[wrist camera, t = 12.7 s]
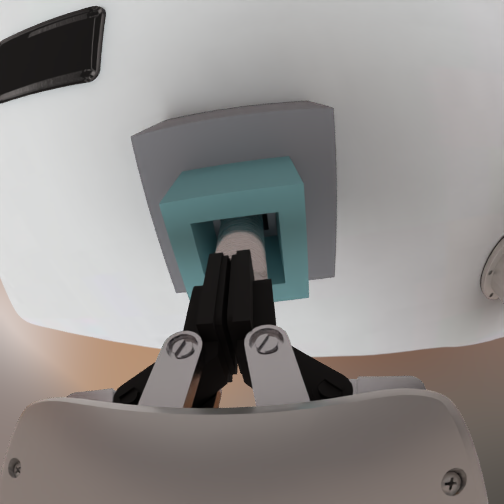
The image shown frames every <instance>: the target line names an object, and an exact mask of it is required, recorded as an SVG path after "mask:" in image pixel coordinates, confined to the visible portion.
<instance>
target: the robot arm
mask: <svg viewBox="0 0 504 504" xmlns="http://www.w3.org/2000/svg"><path fill="white" fill-rule="evenodd" d="M481 289H482V292H483V293H484V294H485V296H486V297H487V298H488V299H492V300H494V299H499V298H500V300H501V301H502V302H503V304H504V238H503V239H502V240H501V241H500V242H499V243H498V245H497V246H496V247H495V249H494V250H493V252H492V254H491V255H490V257H489V259H488V261H487V263H486V265H485V268H484V270H483V274H482V278H481ZM237 364H238V365H237ZM237 366H239V369H240V373H241V374H242V376H243V379H244V382H245V383H246V384H247V385H248V386H250V387H251V388H252V389H253V392H254V397H255V401H256V407H239V408H219V403H220V399H221V394H222V390H221V388H223V387H224V386H225V385H226V384H227V383H228V382H232V375H233V374H237ZM0 504H488V498H487V493H486V489H485V483H484V479H483V475H482V471H481V467H480V463H479V459H478V456H477V453H476V450H475V447H474V444H473V441H472V438H471V435H470V433H469V431H468V428H467V426H466V423H465V421H464V419H463V417H462V415H461V414H460V412H459V410H458V408H457V407H456V406H455V405H454V403H453V402H452V401H451V400H450V399H449V398H448V397H446V396H445V395H443V394H440V393H437V392H433V391H430V390H426V389H425V386H424V384H423V383H422V381H421V380H419V379H418V378H416V377H413V376H391V377H358V379H348V378H346V377H345V376H344V375H342V374H340V373H339V372H337V371H335V370H333V369H331V368H330V367H328V366H326V365H324V364H322V363H321V362H319V361H317V360H315V359H313V358H312V357H310V356H308V355H306V354H305V353H303V352H301V351H299V350H298V349H296V348H294V347H293V346H291V343H290V340H289V337H288V335H287V333H286V332H285V331H284V330H283V329H282V328H280V327H278V326H276V318H275V308H274V299H273V289H272V280H271V279H263V280H255V278H254V272H253V265H252V258H251V252H250V249H248V250H239V251H237V252H236V254H234V255H232V258H231V265H230V260H229V256H228V255H225V256H224V254H223V252H221V253H212V254H209V258H208V263H207V268H206V273H205V278H204V283H203V285H202V286H194V287H193V290H192V294H191V298H190V303H189V307H188V312H187V316H186V321H185V325H184V330H183V331H180V332H177V333H175V334H173V335H171V336H170V337H169V338H167V339H166V341H165V342H164V344H163V346H162V348H161V351H160V353H159V355H158V358H157V360H156V362H155V363H153V364H152V365H150V366H149V367H148V368H146V369H145V370H143V371H142V372H140V373H139V374H137V375H136V376H135V377H133V378H132V379H130V380H129V381H127V382H126V383H124V384H123V385H122V386H120V387H119V388H118V389H117V391H115V390H113V389H112V388H111V389H104V390H95V391H86V392H76V393H72V394H70V395H69V396H67V397H56V398H48V399H43V400H39V401H36V402H34V403H32V404H30V405H29V406H27V407H26V409H25V410H24V411H23V413H22V414H21V416H20V418H19V420H18V422H17V424H16V427H15V429H14V431H13V434H12V437H11V440H10V442H9V446H8V449H7V452H6V456H5V459H4V463H3V467H2V471H1V476H0Z"/></svg>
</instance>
